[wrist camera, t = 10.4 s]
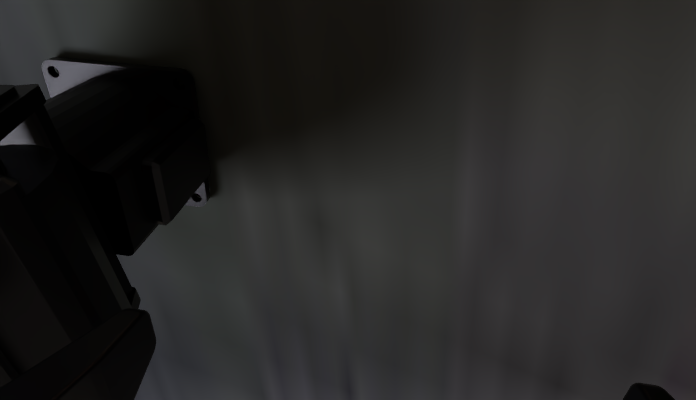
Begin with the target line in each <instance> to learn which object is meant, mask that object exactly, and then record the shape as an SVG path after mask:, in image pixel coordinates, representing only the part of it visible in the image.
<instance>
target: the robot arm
mask: <svg viewBox="0 0 696 400" xmlns="http://www.w3.org/2000/svg"><path fill="white" fill-rule="evenodd" d="M54 67H55V68H57V69H58V71H59V74H58V73H57V72H56V71H55V69H54ZM42 71H43V75H44V78H45V81H46V84H47V87H48V90H49V93H50V97H51V98H50V99H48V100H46V99H45V97H44V95H43V93H42V91H41V89H40V87H39V85H38V84H29V85H17V86H14V85H0V400H134V399H135V396H136V394H137V391H138V389H139V387H140V384H141V382H142V379H143V377H144V375H145V372H146V370H147V367H148V365H149V362H150V360H151V358H152V355H153V353H154V350H155V346H156V337H155V333H154V329H153V325H152V322H151V318H150V315H149V313H148V312H147V311H145V310H140V309H138V308H139V304H140V297H139V295H138V293H137V290H136V289H135V288H134V287H131V285H130V283H129V281H128V279H127V276H126V274H125V272H124V270H123V268H122V266H121V264H120V262H119V260H118V258H117V256H116V254H118V255H126V256H131V255H133V254H134V253H135V251H136V250H137V249H138V248H139V247H140V246H141V244H142V243H143V242H144V241H145V240H146V239H147V237H148V236H149V235H150V234H151V233H152V232H153V230H154V229H155V228H156V227H157V226H158V225H159V224H160V225H167V224H168V223H169V222H171V221H172V220H173V218H174V217H175V216H176V215H177V214H178V212H179V211H180V210H181V209H182V208H183V206H184V205H188V206H196V207H201V206H203V205H205V204H206V202H207V201H208V200H209V198H210V192H209V185H208V176H209V175H210V165H209V157H208V150H207V142H206V135H205V127H204V124H203V123H202V121H201V120H200V119H199V112H198V105H197V97H196V90H195V83H194V79H193V77H192V75H191V74H190V73H189V72H188V71H186V70H183V69H178V68H167V67H156V66H145V65H134V64H124V63H113V62H102V61H91V60H80V59H69V58H59V57H55V58H51V59H48V60H46V61H44V62H43V64H42ZM177 78H180V79H181V80H183V82H184V84H185V85H184V87H183V86H180V85H179V84H178V82H177ZM195 193H197V194H199V195H200V196H201V198H199V197H197V196H196V195H195ZM623 400H675V399H674V398H673V397H672V396H671V395H670V394H669V393H668V392H667V391H665V390H664V389H663V388H661V387H659V386H656V385H651V384H644V383H635V384H633V385H632V386H631V387H630V388H629V390H628V392H627V393H626V395H625V397H624V398H623Z"/></svg>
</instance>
